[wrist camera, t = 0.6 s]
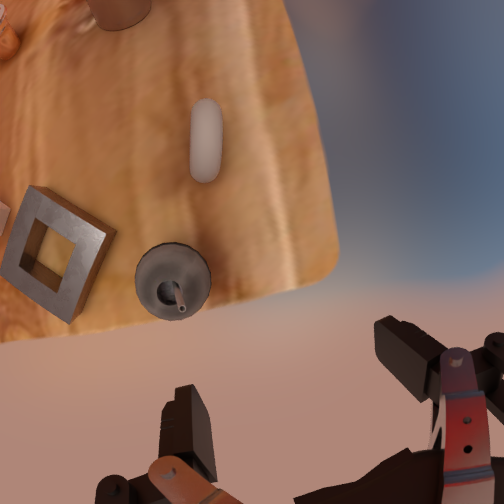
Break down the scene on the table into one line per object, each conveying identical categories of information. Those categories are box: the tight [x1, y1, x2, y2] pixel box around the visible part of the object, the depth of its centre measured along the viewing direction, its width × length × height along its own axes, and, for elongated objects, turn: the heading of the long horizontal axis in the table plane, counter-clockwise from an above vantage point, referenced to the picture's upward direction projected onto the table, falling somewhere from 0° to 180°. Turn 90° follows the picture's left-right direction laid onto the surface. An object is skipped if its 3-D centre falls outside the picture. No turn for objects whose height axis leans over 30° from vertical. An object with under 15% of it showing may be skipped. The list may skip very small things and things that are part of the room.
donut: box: [190, 98, 223, 183], centre depth 31 cm, size 10×3×10 cm, turn 1°
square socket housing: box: [0, 185, 117, 325], centre depth 31 cm, size 13×13×5 cm
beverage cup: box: [135, 242, 211, 321], centre depth 28 cm, size 7×7×20 cm
